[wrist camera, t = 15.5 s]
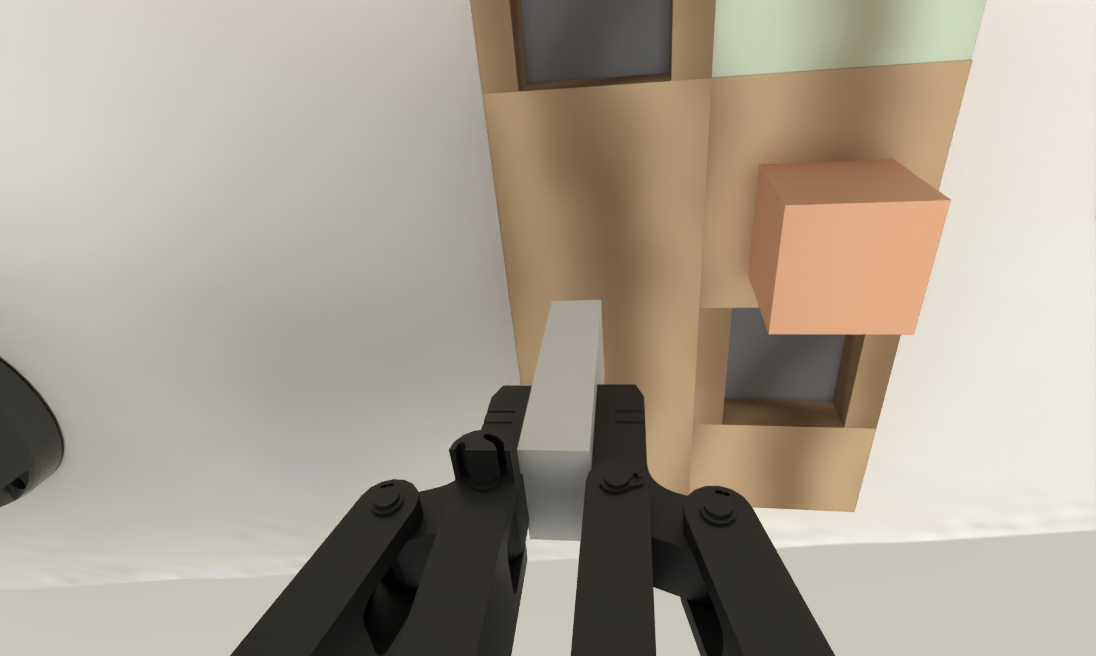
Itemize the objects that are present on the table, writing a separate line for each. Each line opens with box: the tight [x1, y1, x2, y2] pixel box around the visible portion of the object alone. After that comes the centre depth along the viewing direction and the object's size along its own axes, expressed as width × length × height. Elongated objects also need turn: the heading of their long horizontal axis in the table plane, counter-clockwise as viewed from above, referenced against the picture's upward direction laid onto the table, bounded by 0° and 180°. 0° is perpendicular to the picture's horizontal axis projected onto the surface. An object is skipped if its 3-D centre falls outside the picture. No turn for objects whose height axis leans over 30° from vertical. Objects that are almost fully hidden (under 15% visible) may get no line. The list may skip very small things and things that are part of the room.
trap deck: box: [470, 0, 986, 512], centre depth 25 cm, size 18×31×6 cm, turn 5°
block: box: [748, 159, 951, 335], centre depth 22 cm, size 5×5×5 cm
